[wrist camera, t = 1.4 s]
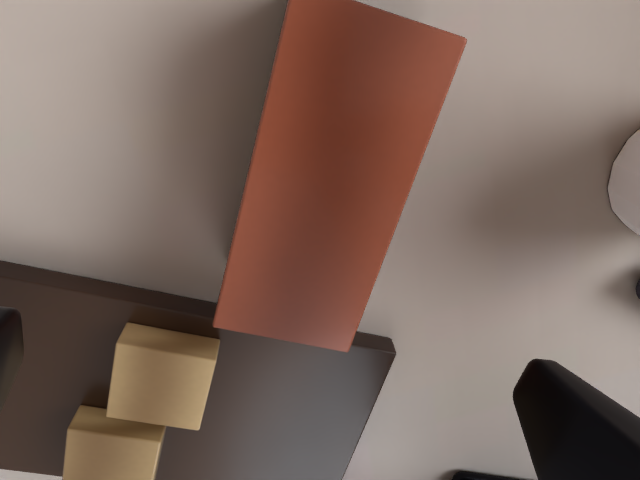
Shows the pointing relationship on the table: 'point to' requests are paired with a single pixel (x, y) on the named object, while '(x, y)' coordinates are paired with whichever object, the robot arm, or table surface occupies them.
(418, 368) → the table surface
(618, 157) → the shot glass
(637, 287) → the bracket
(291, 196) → the reddish orange block
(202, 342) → the cork bit
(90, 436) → the cork bit
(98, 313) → the board
